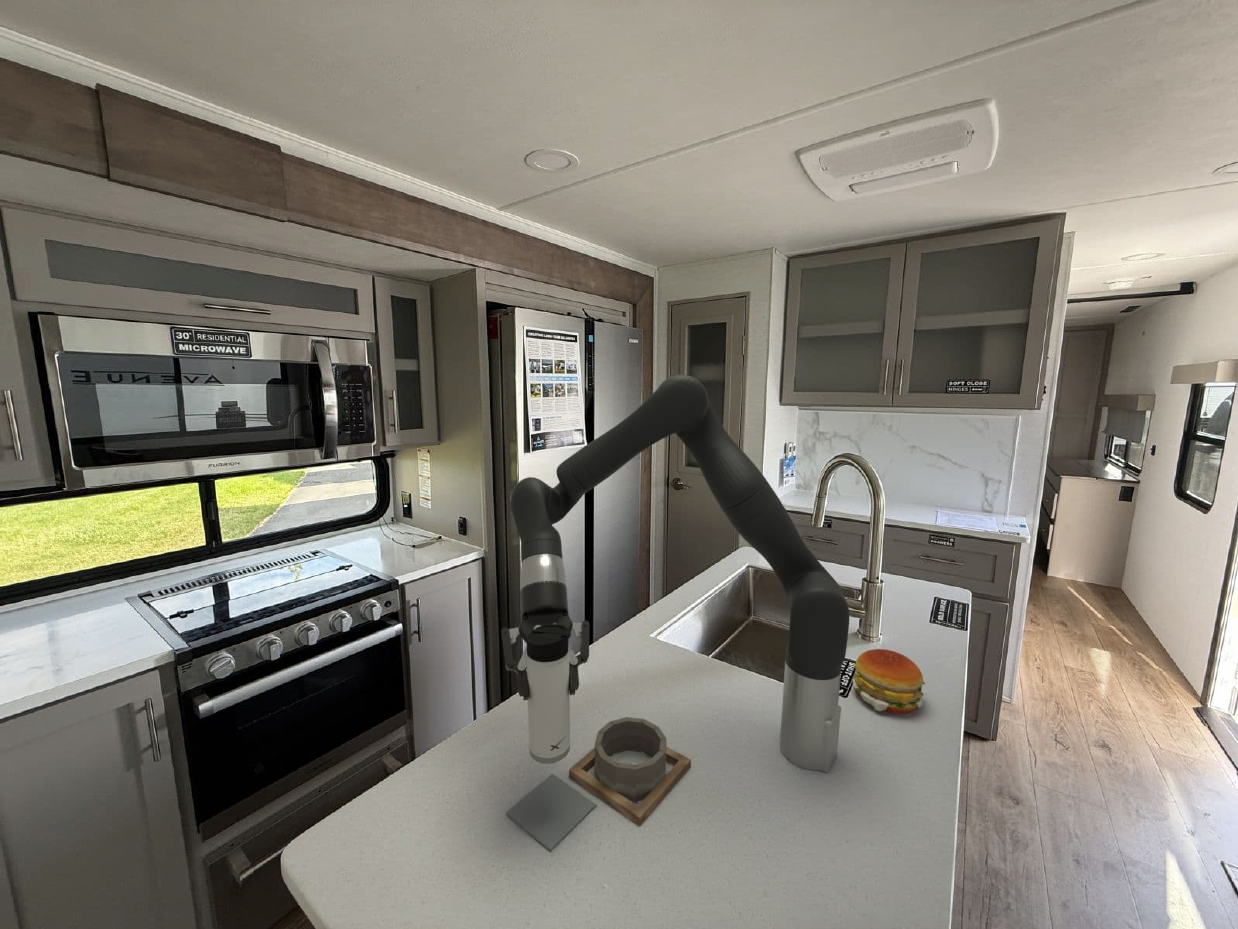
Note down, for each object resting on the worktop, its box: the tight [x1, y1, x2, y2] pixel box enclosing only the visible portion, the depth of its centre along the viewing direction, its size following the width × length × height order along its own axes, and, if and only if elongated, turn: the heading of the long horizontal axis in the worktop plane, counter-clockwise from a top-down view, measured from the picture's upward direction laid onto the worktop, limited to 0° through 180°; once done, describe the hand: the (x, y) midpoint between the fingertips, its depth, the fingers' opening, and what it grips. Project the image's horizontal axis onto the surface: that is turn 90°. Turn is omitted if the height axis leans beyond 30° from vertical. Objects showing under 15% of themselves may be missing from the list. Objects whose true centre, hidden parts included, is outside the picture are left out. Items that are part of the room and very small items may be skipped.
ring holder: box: [568, 716, 692, 827], centre depth 87 cm, size 15×15×6 cm
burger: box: [852, 648, 926, 714], centre depth 106 cm, size 14×14×10 cm
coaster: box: [505, 773, 597, 853], centre depth 79 cm, size 10×10×1 cm
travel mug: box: [526, 624, 572, 765], centre depth 76 cm, size 6×7×20 cm
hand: (549, 696), depth 74 cm, fingers closed on travel mug, 6 cm apart
